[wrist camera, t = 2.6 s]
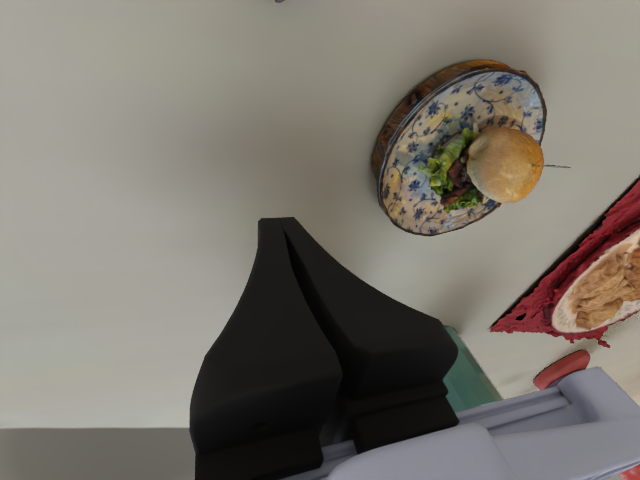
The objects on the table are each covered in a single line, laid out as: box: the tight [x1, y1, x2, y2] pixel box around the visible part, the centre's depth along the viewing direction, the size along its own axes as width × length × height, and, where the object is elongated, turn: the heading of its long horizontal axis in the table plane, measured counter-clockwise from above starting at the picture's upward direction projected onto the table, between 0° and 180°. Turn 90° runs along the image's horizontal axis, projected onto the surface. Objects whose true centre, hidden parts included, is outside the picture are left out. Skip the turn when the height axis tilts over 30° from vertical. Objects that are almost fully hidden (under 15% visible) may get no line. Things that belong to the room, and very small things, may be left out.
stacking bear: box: [534, 350, 640, 480], centre depth 54 cm, size 11×10×18 cm
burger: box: [371, 60, 571, 236], centre depth 20 cm, size 12×12×8 cm
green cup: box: [443, 326, 504, 413], centre depth 36 cm, size 8×8×9 cm
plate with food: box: [490, 180, 640, 348], centre depth 38 cm, size 24×26×3 cm
